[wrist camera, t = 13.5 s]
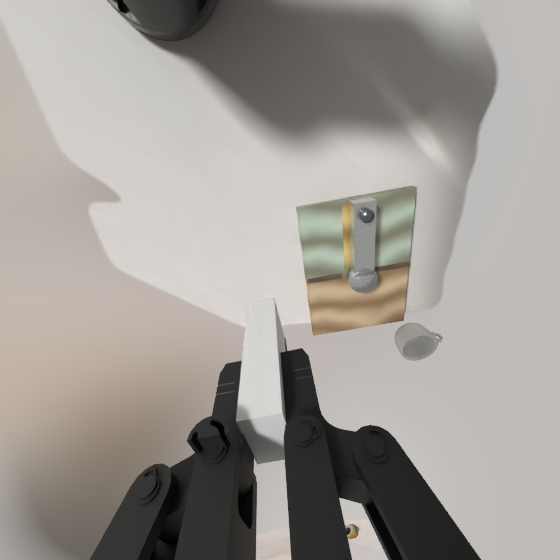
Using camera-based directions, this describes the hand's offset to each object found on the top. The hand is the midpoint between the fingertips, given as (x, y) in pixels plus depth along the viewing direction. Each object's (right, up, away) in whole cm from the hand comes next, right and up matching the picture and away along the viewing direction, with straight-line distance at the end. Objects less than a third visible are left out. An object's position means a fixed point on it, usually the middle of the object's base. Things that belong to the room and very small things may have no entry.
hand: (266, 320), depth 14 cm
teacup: (+32, -9, +44) cm, 55 cm away
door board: (+16, +5, +35) cm, 38 cm away
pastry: (+33, -111, +99) cm, 152 cm away
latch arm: (+15, +8, +30) cm, 34 cm away
